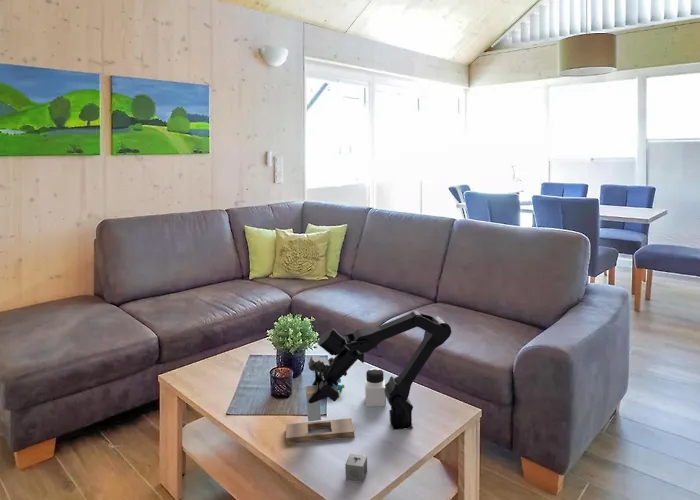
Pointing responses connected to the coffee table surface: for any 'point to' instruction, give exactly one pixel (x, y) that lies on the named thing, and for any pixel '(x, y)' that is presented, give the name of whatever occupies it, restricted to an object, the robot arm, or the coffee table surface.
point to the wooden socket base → (300, 433)
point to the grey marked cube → (356, 468)
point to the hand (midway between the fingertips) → (308, 399)
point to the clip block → (312, 404)
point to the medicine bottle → (375, 388)
